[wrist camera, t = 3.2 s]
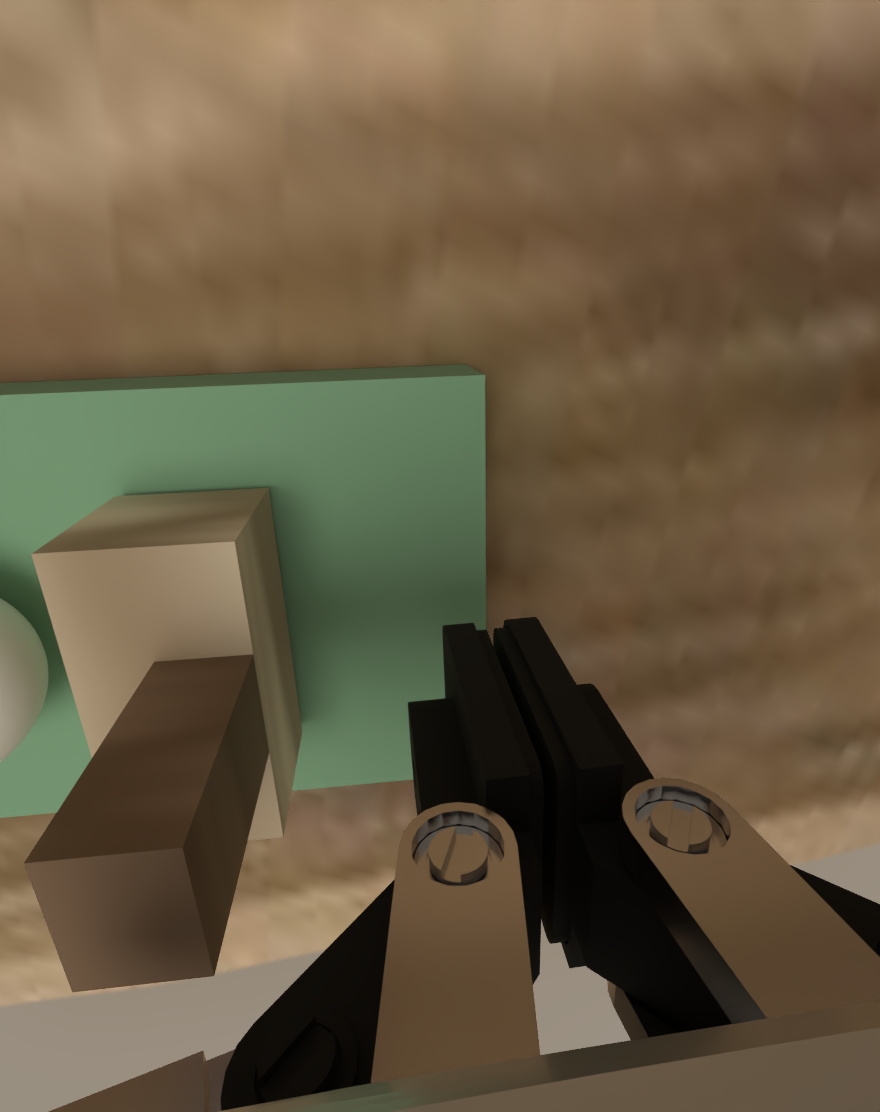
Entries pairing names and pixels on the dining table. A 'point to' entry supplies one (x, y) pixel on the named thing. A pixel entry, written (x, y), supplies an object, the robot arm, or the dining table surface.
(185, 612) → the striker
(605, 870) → the robot arm
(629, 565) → the dining table surface
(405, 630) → the putting green
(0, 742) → the golf ball
